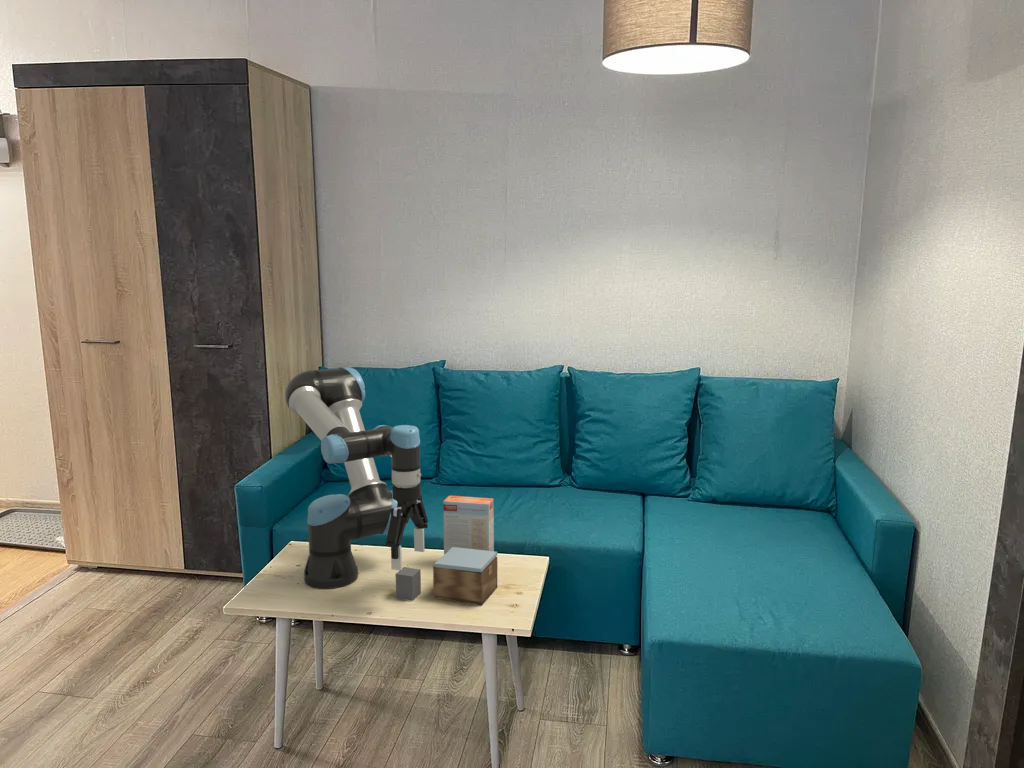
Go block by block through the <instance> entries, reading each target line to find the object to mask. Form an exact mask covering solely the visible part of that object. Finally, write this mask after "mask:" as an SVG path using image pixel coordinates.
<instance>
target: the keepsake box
mask: <svg viewBox="0 0 1024 768" xmlns="http://www.w3.org/2000/svg"><path fill="white" fill-rule="evenodd" d="M432 575H433V577H432V580H433V581H432V582H433V583H432V584H433V592H432V593H433V598H434V599H437V600H438V599H439V600H444V601H451V602H455V603H462V604H469V605H476V606H480V607H482V606H483V605H484V604H485V603H486V601H487V600H488V599H489V598H490V597H491V596H492V595H493V594H494V592H495V591H496V590H497V588H498V556H496V557H495V558H494V559H493V560H492V561H491V562H490V564H489V565H488V566H487V567H486V568H485V569H484V570H483V571H482V572H473V571H465V570H456V569H447V568H439V567H435V565H433V566H432Z"/></svg>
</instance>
